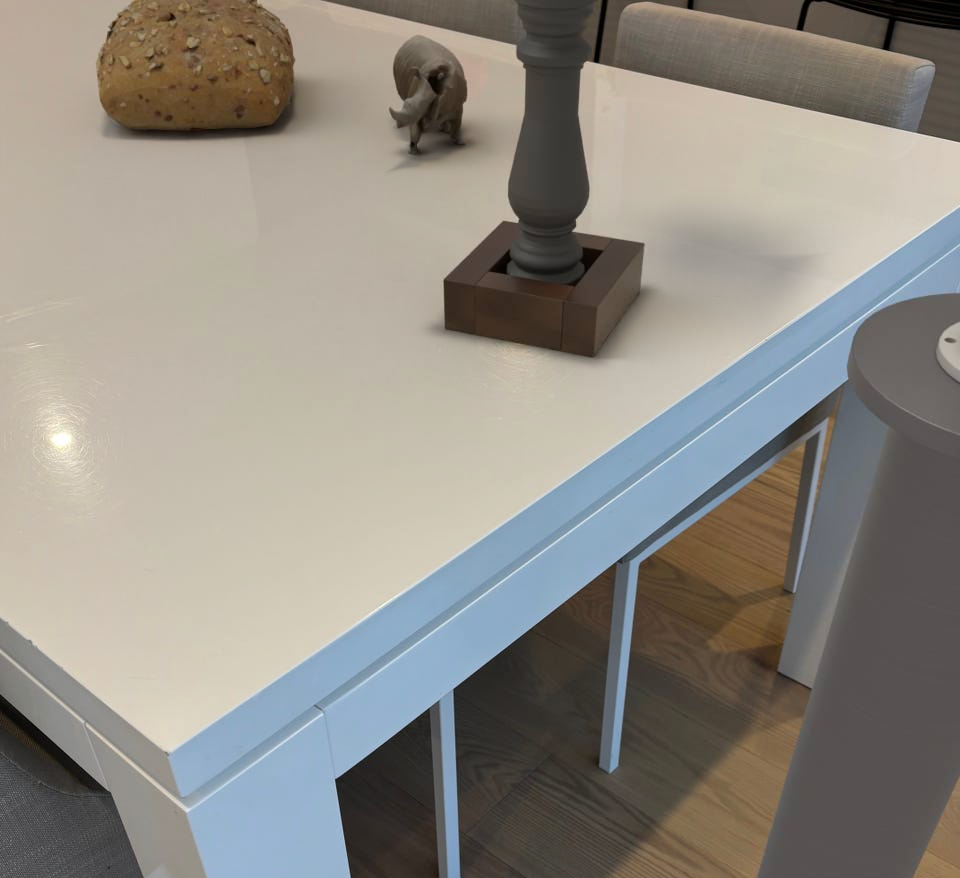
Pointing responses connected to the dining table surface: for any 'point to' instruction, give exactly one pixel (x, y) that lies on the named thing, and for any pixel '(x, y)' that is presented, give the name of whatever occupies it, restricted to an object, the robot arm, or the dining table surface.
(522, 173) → the candle holder
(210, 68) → the bread
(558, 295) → the square frame
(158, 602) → the dining table surface
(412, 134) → the rhinoceros figurine
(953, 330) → the robot arm
